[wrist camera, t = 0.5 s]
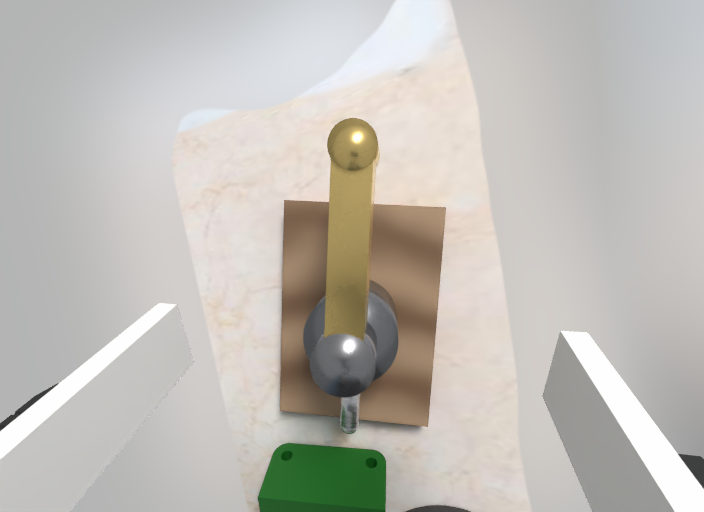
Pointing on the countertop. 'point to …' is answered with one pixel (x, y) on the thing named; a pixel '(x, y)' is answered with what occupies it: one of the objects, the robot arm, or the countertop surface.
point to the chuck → (387, 343)
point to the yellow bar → (348, 264)
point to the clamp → (324, 480)
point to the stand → (395, 277)
